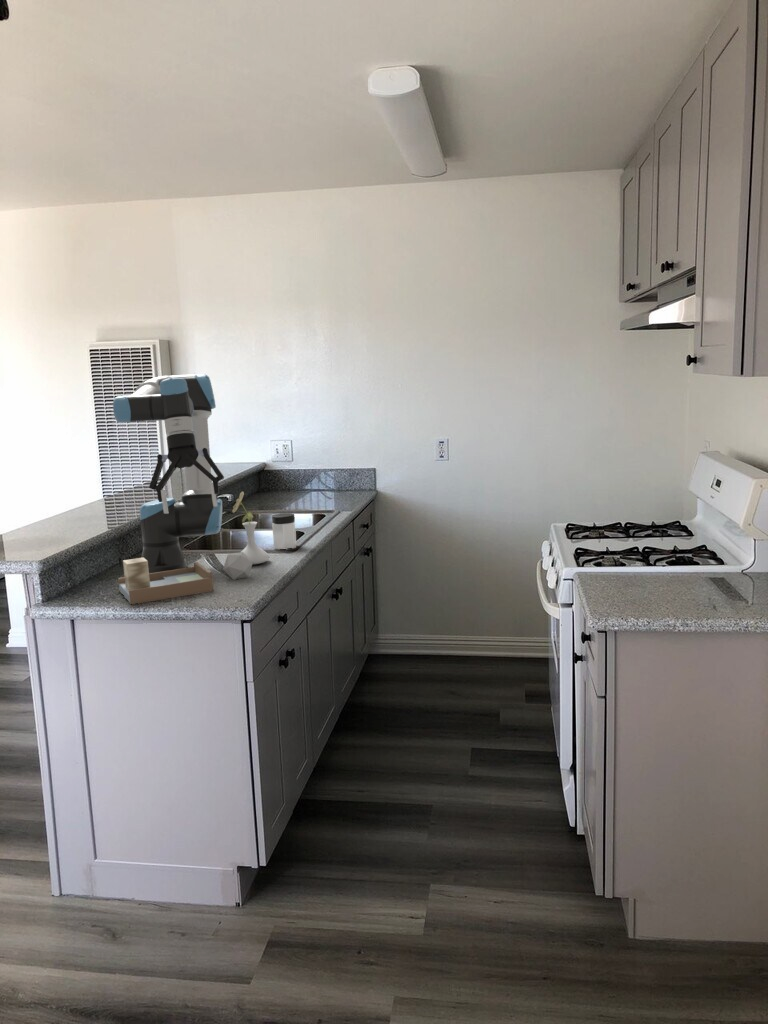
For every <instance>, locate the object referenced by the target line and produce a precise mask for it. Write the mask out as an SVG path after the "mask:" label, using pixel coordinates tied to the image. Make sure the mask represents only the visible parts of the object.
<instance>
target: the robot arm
mask: <svg viewBox="0 0 768 1024" xmlns="http://www.w3.org/2000/svg"><path fill="white" fill-rule="evenodd" d="M112 403H113V405H112V408H113V409H112V410H113V415H114V419H115V420H116V422H118V423H127V424H128V423H136V422H137V423H138V422H150V421H153V422H154V421H155V422H156V421H164V428H165V434H166V435H167V437H166V440H167V449H168V453H167V454H161V453H159V454H157V459H156V460H157V463H156V465H155V468H154V471H153V475H152V478H151V481H150V483H149V489H151V490H155V491H156V494H157V499H155V500H152V501H148V502H145V503H143V504H142V505H141V506H140V507H139V520H140V521H139V522H140V530H141V539H142V541H141V542H142V552H141V557H140V558H143V557H144V558H145V559H146V560H147V561H148V569H149V573H156V572H163V571H169V570H176V569H182V568H187V566H188V565H187V559H186V558H185V555H184V553H183V551H182V548H181V545H180V541H179V540H180V539H179V538H181V537H196V536H209V535H216V534H218V533H219V532H220V531H221V528H222V522H223V521H222V519H223V499H222V498H218V495H219V494H220V488H219V487H220V485H219V482H220V481H222V480H224V479H225V476H224V475H223V473H222V472H221V470H220V469H219V467H218V466H217V465H216V463H215V462H214V460H213V458H212V457H211V452H210V450H211V449H210V437H209V423H208V422H209V421H208V419H209V418H210V417H211V416H212V412H213V411H212V410H213V409H216V400H215V394H214V391H213V386H212V382H211V379H210V376H208V375H207V374H206V373H205V374H201V373H199V374H198V373H192V374H191V373H190V374H176V375H173V374H172V375H161V376H156V377H152V378H150V379H148V380H145V381H143V382H141V383H140V384H139V385H138V386H137V387H136V388H135V390H134V392H133V393H132V394H130V395H122V396H121V395H120V396H116V397H114V399H113V402H112ZM167 460H168V461H170V462H171V463H170V464H169V466H168V468H167V469H166V471H165V473H164V474H163V476H162V478H161V479H159V478H160V476H161V473H162V471H163V467H164V463H166V462H167ZM177 468H178V469H183V468H184V478H185V480H184V481H185V482H184V483H185V492H184V493H183V494H182V495H181V501H176V499H175V497H167V493H166V492H167V491H166V489H164V488H165V486H166V485H167V483H168V482H169V480H170V478H171V476H172V475H173V474H174V472H175V471H176V469H177ZM212 471H213V472H214V473H215V474H216V476H214V475H213V474H212ZM159 480H160V481H159ZM158 482H159V483H158Z"/></svg>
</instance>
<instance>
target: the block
mask: <svg viewBox="0 0 768 1024" xmlns="http://www.w3.org/2000/svg"><path fill="white" fill-rule="evenodd" d="M122 566H123V574H124V576H123V577H125V585H126V588H127V589H128V590H135V589H142V588H148V587H150V578H149V569H148V561H147V560H146V559H145V558H144V557H143V558H141V557H136V558H131V559H124V560H122Z"/></svg>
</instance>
